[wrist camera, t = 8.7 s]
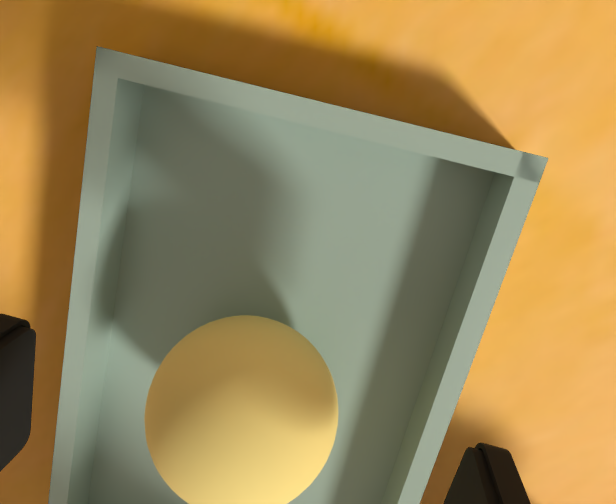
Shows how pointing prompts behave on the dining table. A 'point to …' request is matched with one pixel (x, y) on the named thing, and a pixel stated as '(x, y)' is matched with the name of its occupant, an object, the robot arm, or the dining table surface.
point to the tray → (278, 268)
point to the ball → (241, 413)
